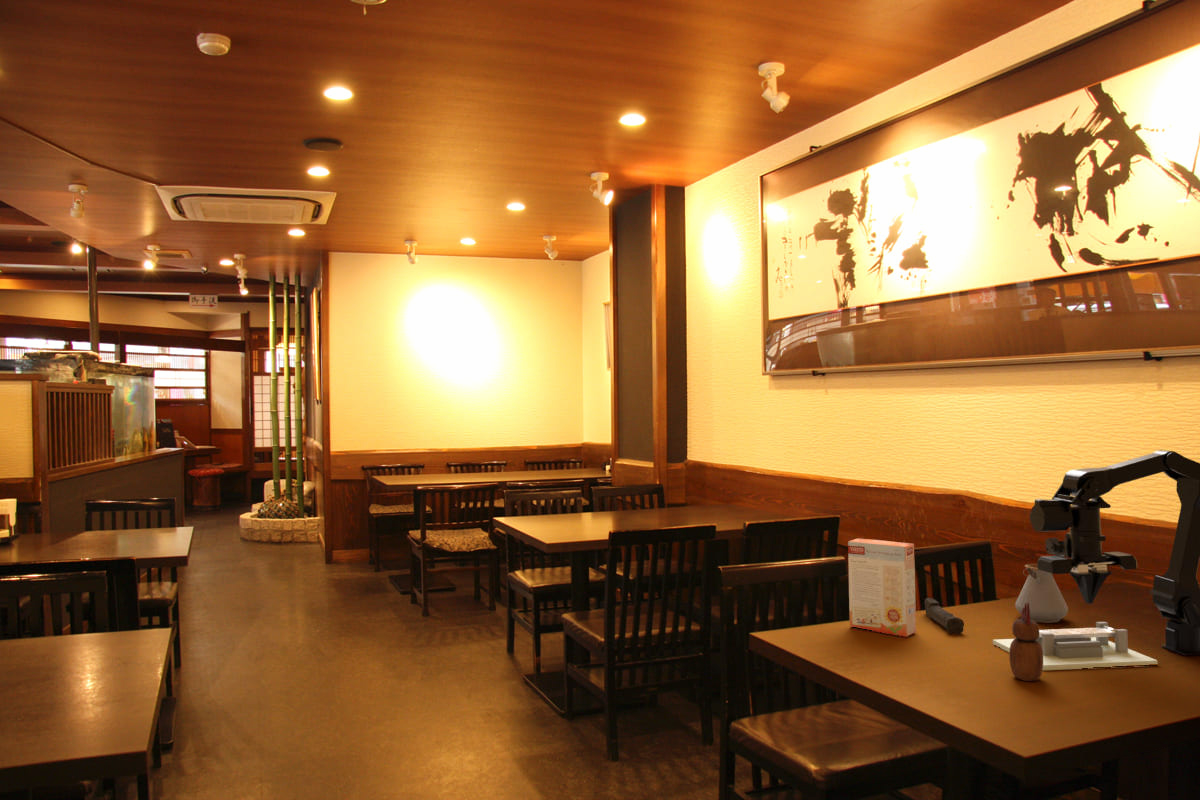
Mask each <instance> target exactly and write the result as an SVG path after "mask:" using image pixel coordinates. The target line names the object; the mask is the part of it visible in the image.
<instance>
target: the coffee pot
mask: <svg viewBox="0 0 1200 800" xmlns="http://www.w3.org/2000/svg"><path fill="white" fill-rule="evenodd" d="M1024 567H1025V569H1023V571H1022V574H1023V575H1024V576H1025V577H1026V580H1025V583H1024V584H1023V587H1022V589H1021V590H1020V593H1019V595H1018V597H1017V599H1016V601H1015V604H1014V607H1015V608H1016V610H1017V611H1018V613H1020V615H1021V611H1023V608H1024V607H1025V603H1026V605H1027V603H1029V609H1030V620H1032V621H1034V622H1036V623H1045V624H1047V623H1058V622H1060V621H1061V619H1063V618H1065V617H1066V616H1067V614H1068V612H1069V607H1068V605H1067V603H1066V601H1065V599H1064V597H1063V595H1062V592H1061V590H1060V588H1059V586H1058V584H1057V582H1056V580H1055V578H1054V576H1053V575H1054V574H1052V573H1049V572H1045V571H1042V570H1039V569H1038V563H1031V564H1029V563H1028V564H1025V565H1024ZM1024 571H1027V573H1028V575H1026V574H1025V573H1024Z"/></svg>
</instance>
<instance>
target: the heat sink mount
mask: <svg viewBox="0 0 1200 800" xmlns="http://www.w3.org/2000/svg"><path fill="white" fill-rule="evenodd" d="M1103 626H1108V627H1109V623H1108V622H1106V621H1096V622H1095V628H1102V627H1103ZM1114 629H1115V637H1114V642H1113V641H1110V640H1109V637H1090V638H1065V639H1054V634H1052V633H1042V638H1041V637H1038V638H1037V639H1036V640H1037V641H1038V642H1039V643H1040V645H1041V647H1042V650H1043V669H1042V671H1057V670H1061V671H1063V670H1064V671H1065V670H1082V668H1088V669H1094V668H1093V667H1111V668H1113V667H1112V666H1127V665H1149V664H1158V660H1157V659H1155V658H1152V657H1150V656H1147V655H1145V654H1142V653H1139V652H1138V651H1135V650H1133V649H1130V648H1129V647H1128V646H1129V643H1128V642H1129V641H1128V638H1129V637H1128V629H1124V628H1120V629H1118V628H1117V629H1116V628H1114ZM1014 639H1015V638H1002V639H1001V638H1000V639H999V638H998V639H992V644H993V645H994V646H995V645H996V646H995V647H997V648H999V647H1000V648H999V649H1001V650H1003V651H1005V652H1007V653H1009V652H1010V645H1011V642H1012V641H1013V640H1014Z"/></svg>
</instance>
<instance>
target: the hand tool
mask: <svg viewBox="0 0 1200 800" xmlns="http://www.w3.org/2000/svg"><path fill="white" fill-rule="evenodd" d="M940 605H941V603H940V602H939V601H937V600H936V599H934V598H932V597H927V598H925V599H924V610H925V614H926V615H925V616H927V618H928V619H929V620H933V621H935V622H937V623H938V624H939V625H940V626H942V627H943V628H944V629H946V630H945V631H946V632H947V633H948V634H949V635H960V634H962V633H963V631H964V627H965V623H964V622H965V621H964V620H963V619H962V618H960V617H956V616H955V615H954V613H952V612H948V611H947V610H945V609H944V608H942V606H940Z"/></svg>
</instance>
